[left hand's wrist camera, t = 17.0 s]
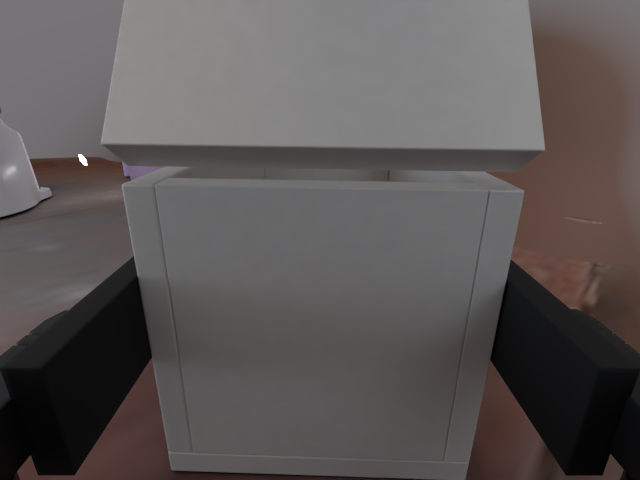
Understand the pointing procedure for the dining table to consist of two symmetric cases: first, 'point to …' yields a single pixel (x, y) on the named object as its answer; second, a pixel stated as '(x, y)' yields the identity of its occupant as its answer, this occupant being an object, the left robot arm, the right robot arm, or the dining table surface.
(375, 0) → the lid
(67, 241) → the dining table surface
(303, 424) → the chest
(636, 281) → the dining table surface
